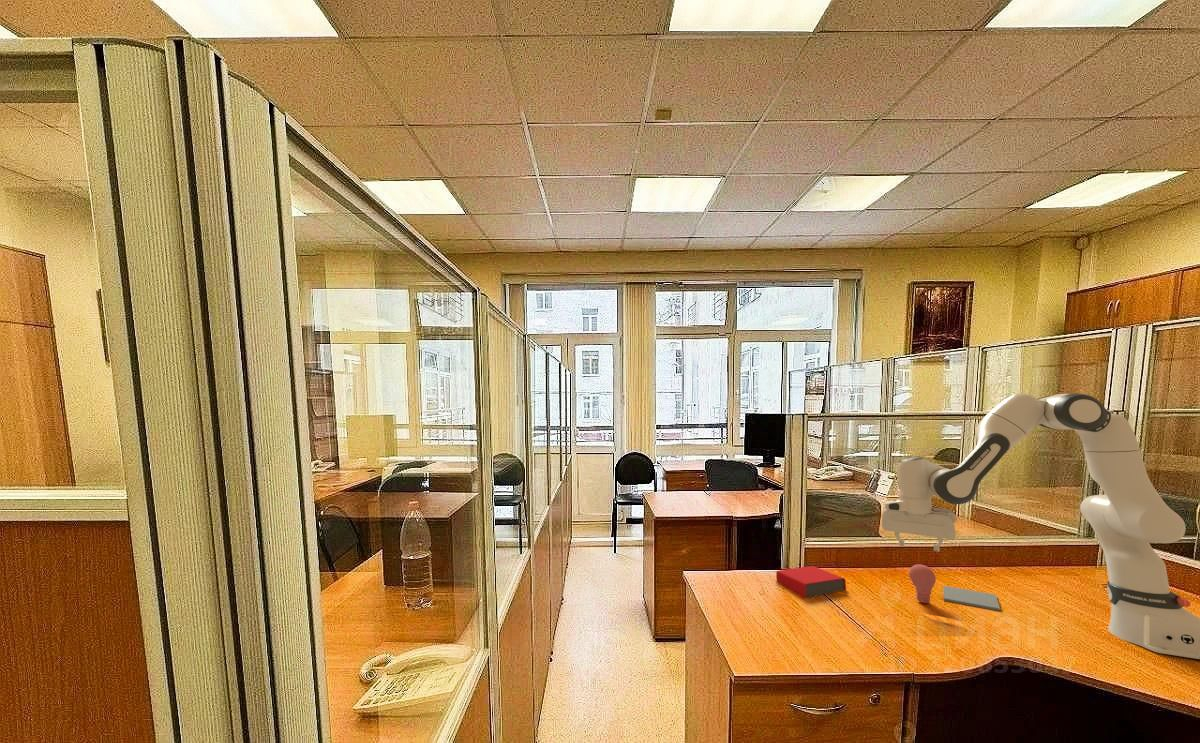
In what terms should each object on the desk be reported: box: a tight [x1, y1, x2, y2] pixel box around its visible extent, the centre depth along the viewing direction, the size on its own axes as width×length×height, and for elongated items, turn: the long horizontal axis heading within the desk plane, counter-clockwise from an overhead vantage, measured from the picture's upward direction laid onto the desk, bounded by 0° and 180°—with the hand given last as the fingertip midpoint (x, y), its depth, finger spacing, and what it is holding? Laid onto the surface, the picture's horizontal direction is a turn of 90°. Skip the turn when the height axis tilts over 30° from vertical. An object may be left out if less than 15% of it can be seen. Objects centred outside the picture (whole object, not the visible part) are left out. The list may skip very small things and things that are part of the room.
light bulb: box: [908, 563, 937, 604], centre depth 145 cm, size 7×7×12 cm
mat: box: [942, 585, 1001, 612], centre depth 147 cm, size 14×14×1 cm
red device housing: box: [775, 565, 847, 599], centre depth 158 cm, size 18×14×5 cm
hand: (919, 548), depth 146 cm, fingers open, 8 cm apart
